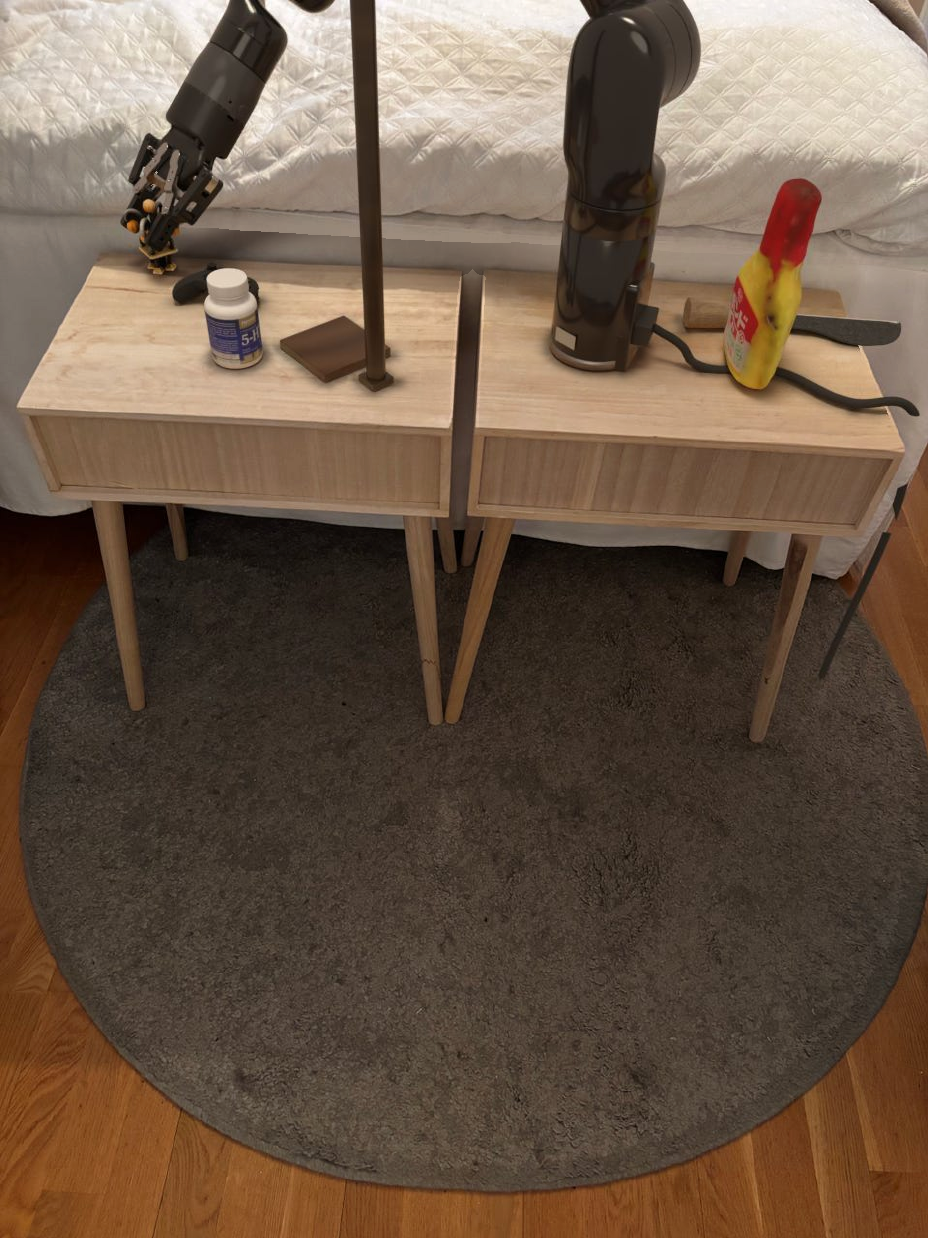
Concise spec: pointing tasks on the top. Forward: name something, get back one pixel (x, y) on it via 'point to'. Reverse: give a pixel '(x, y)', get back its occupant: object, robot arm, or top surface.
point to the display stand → (341, 339)
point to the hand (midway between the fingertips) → (140, 237)
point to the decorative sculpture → (156, 258)
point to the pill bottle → (232, 319)
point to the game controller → (202, 285)
